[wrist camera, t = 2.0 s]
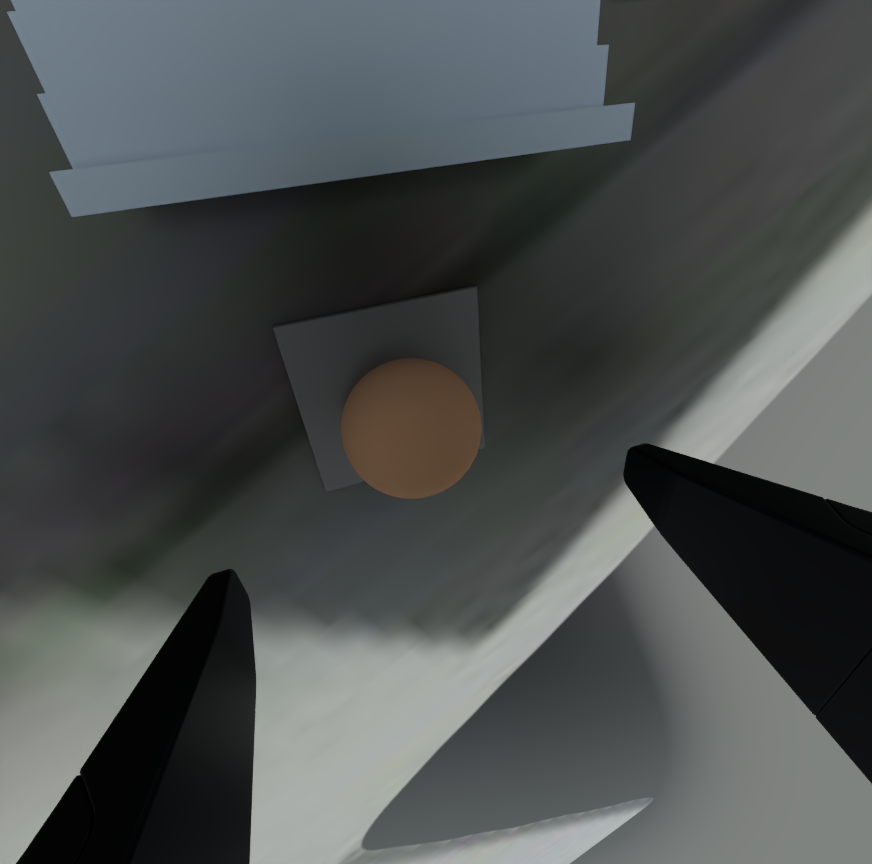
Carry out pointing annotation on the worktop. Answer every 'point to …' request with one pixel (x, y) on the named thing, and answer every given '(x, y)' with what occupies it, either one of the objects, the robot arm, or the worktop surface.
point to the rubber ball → (411, 428)
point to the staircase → (306, 90)
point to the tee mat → (373, 361)
